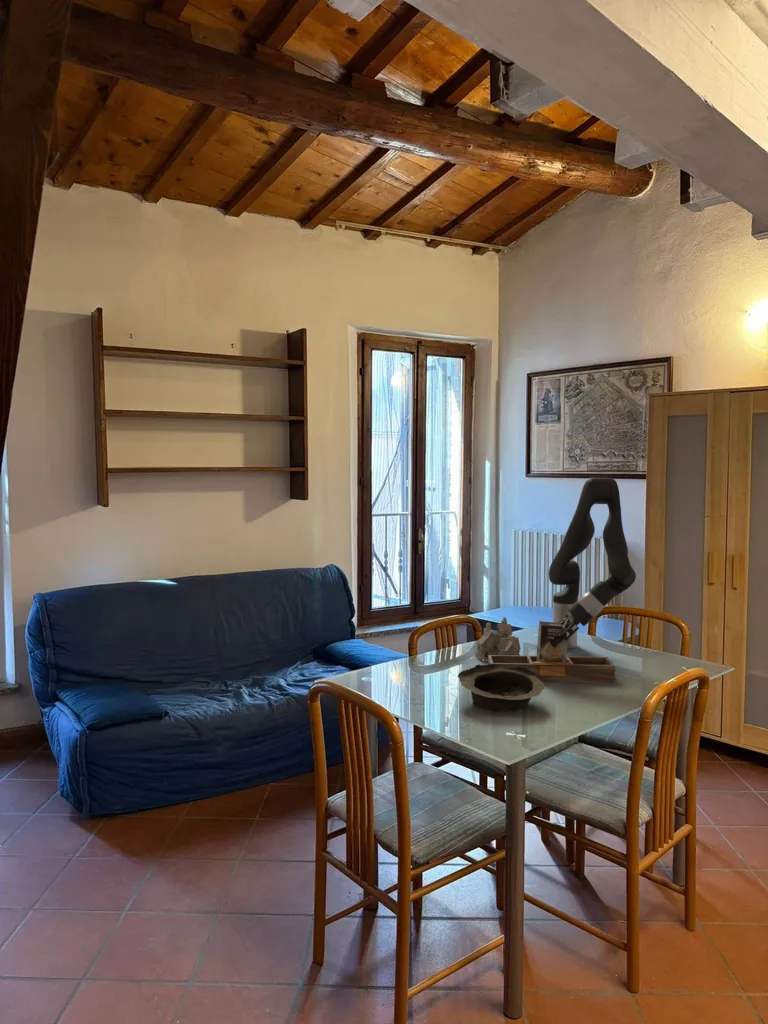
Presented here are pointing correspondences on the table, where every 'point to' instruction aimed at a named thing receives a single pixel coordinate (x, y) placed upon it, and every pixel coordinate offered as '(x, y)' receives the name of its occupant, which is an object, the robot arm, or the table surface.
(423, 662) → the table surface
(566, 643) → the coffee box
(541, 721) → the table surface
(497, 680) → the stone bowl
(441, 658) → the table surface
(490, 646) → the ceramic cottage
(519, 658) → the brown wooden compartment tray
